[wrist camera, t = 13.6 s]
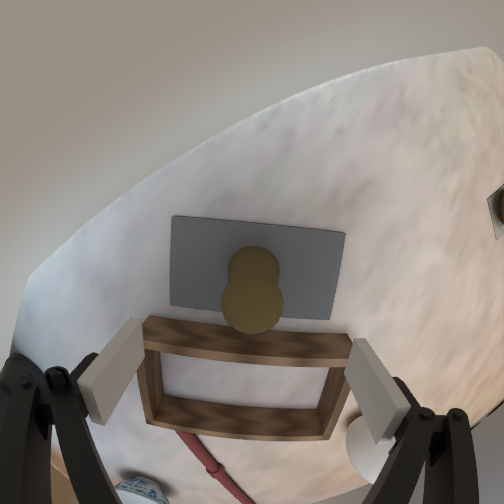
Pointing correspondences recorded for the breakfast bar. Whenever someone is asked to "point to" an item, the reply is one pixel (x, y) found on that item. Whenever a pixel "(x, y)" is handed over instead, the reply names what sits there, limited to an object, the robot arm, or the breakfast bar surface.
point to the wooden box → (251, 352)
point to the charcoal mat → (266, 236)
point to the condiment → (497, 211)
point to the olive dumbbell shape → (252, 291)
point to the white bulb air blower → (366, 450)
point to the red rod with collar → (212, 466)
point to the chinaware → (140, 492)
